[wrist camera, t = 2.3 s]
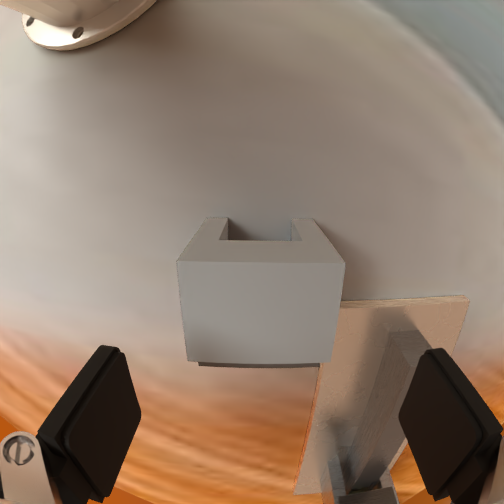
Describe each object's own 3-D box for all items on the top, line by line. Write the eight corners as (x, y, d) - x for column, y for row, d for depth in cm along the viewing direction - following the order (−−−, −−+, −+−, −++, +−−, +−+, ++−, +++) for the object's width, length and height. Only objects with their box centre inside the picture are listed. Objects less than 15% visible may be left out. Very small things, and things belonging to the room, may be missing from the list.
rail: (329, 301, 19) (365, 387, 11) (463, 295, 19) (525, 353, 11) (292, 488, 27) (296, 543, 20) (379, 477, 27) (393, 526, 20)
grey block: (207, 217, 17) (176, 261, 11) (312, 218, 17) (345, 262, 11) (210, 295, 19) (188, 368, 12) (306, 296, 19) (328, 369, 12)
